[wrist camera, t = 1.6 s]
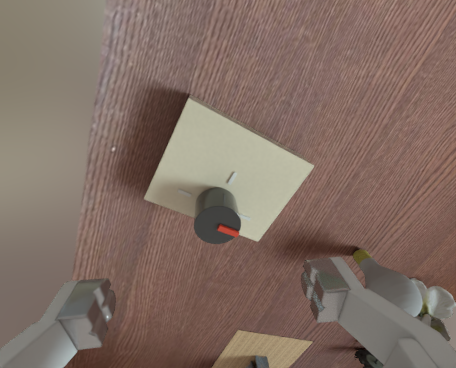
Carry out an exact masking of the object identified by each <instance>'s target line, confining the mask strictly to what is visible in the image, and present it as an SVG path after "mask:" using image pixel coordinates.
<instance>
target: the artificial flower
mask: <svg viewBox="0 0 456 368" xmlns="http://www.w3.org/2000/svg"><path fill="white" fill-rule="evenodd" d="M414 279H416V278H411V279H410V280H411V281H412V282H413V283H414V284H415V285H416V286H417V288H418V290H419V291H420V293H421V297H422V309H421V311H420V313H419V314H418V315H417V316H416V317H415V318H417V319H418V320H420V321H422V322H423V323H425V324H426V325H428V326H430V327H431V328H433V329H434V330H436V331H438V332H439V333H440V334H441V335H442V336H443V337H444V338H445V339H446V340H447V341H449V340H451V337H450V334H449V332H448V330H447V328H446V326H445V325H444V323H442V322H441V320H440V319H445V318H449V317H451V316H452V315H453V313H452V309H453V308H454V307H455V306H456V303H455V301H454V299H453V297H452V295H451V294H450V293H449V292H447V291H446V290H444V289H443V288H442V287H439V286H433V287H430V288H428V289H427V288H426V287H425V285H424V284H423V283H422V281H419V280H414ZM435 317H436V318H435ZM355 355H356V356H357V357H355V358H359V361H360V362H361V363H362V364H364V366H365V367H364V366H363V368H383V366H384V365H383V364H382V363H381V362H380V361H379V360H378V359H377V358H376V357H375V356H374V355H373V354H371V353H370V352H369V351H368V350H367V351H366V350H358V351H357V352H356V354H355ZM355 360H356V359H355Z"/></svg>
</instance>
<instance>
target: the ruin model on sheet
mask: <svg viewBox="0 0 456 368" xmlns="http://www.w3.org/2000/svg"><path fill="white" fill-rule="evenodd" d="M311 343H312V341H306V340H299V339H293V338H286V337H280V336H273V335H267V334H260V333H254V332H247V331H241V330H238V331H237V332H236V334H235V335H234V336H233V338H232V339H231V341H230V342H229V344H228V345H227V346H226V348H225V349H224V351H223V352H222V353H221V355H220V356H219V358H218V359H217V361H216V362H215V363H214V365H213V366H212V368H288V367H289V366H290V365H291V364H292V363H293V362H294V361H295V360H296V359H297V358H298V357H299V356H300V355H301V354H302V353H303V352H304V351H305V350H306V349H307V348H308V347H309V345H310V344H311Z"/></svg>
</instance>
